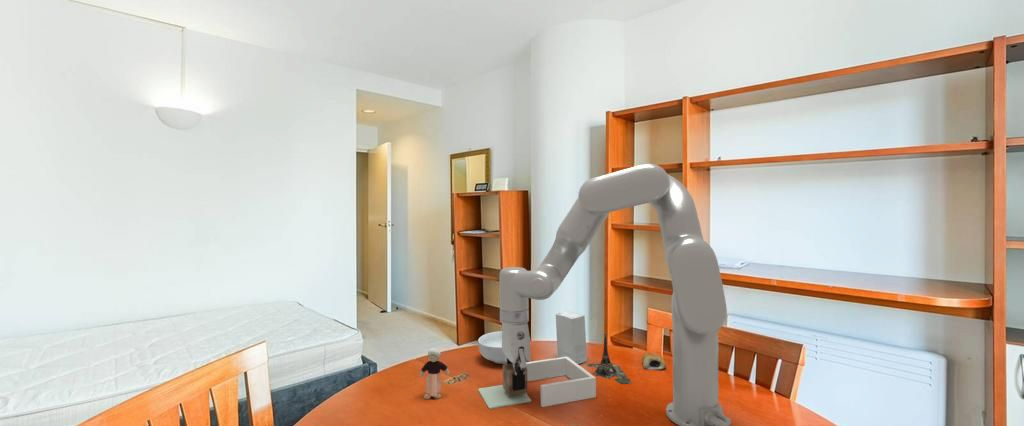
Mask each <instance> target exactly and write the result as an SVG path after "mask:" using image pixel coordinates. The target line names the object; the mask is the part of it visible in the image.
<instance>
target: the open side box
mask: <svg viewBox="0 0 1024 426" xmlns="http://www.w3.org/2000/svg"><path fill="white" fill-rule="evenodd" d="M526 364H527V382H531V381H538V380H543V379H544V380H545V379H550V378H551V379H552V378H556V377H563V376H565V377H568V378H569V380H563V381H557V382H551V383H545V384H540V406H541V407H542V408H545V407H550V406H557V405H561V404H566V403H572V402H576V401H582V400H588V399H594V398H596V397H597V389H596V387H597V383H596V382H597V379H596V376H594V374H591V373H590V372H589V371H587V370H586V369H585V368H583V367H582V366H581V365H579V364H577V363H575V362H574V361H573V360H571V359H570V358H568V357H560V358H558V357H556V358H554V357H553V358H547V359H540V360H533V361H530V362H527V361H526Z"/></svg>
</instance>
